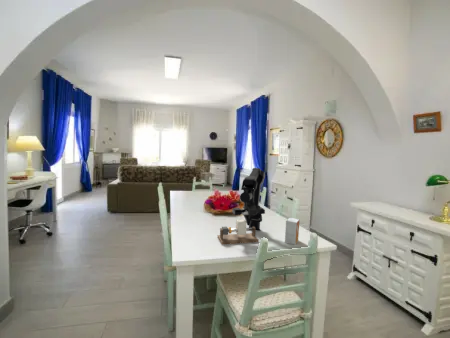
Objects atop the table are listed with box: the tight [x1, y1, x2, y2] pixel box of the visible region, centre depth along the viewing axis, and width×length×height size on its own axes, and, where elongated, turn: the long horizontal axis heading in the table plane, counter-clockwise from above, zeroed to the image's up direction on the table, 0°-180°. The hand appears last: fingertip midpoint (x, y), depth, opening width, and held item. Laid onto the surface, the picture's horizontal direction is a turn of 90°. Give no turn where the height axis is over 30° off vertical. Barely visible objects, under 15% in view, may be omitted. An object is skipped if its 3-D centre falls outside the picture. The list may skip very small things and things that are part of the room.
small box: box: [284, 217, 300, 245], centre depth 140 cm, size 8×6×13 cm
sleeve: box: [235, 219, 247, 235], centre depth 141 cm, size 5×4×8 cm
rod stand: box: [216, 226, 260, 246], centre depth 140 cm, size 22×11×8 cm, turn 105°
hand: (248, 225), depth 142 cm, fingers closed
